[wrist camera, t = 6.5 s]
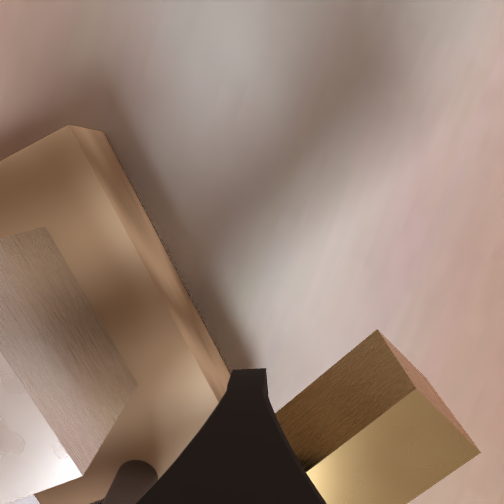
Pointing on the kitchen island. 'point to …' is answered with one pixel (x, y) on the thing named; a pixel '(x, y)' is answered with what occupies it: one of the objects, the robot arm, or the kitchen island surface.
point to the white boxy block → (51, 370)
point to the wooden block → (374, 429)
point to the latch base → (118, 306)
